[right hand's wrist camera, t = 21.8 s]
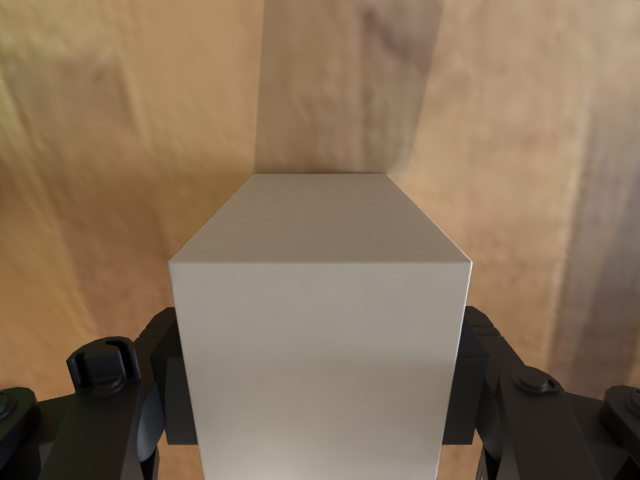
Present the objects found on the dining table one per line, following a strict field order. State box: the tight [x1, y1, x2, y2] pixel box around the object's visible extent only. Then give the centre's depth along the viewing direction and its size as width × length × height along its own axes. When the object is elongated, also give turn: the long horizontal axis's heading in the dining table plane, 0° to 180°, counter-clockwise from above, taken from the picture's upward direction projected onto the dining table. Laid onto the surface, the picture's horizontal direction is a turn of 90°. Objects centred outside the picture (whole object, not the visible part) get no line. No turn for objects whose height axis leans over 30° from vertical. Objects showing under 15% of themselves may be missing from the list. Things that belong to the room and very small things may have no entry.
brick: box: [168, 174, 472, 480], centre depth 13 cm, size 6×7×10 cm
